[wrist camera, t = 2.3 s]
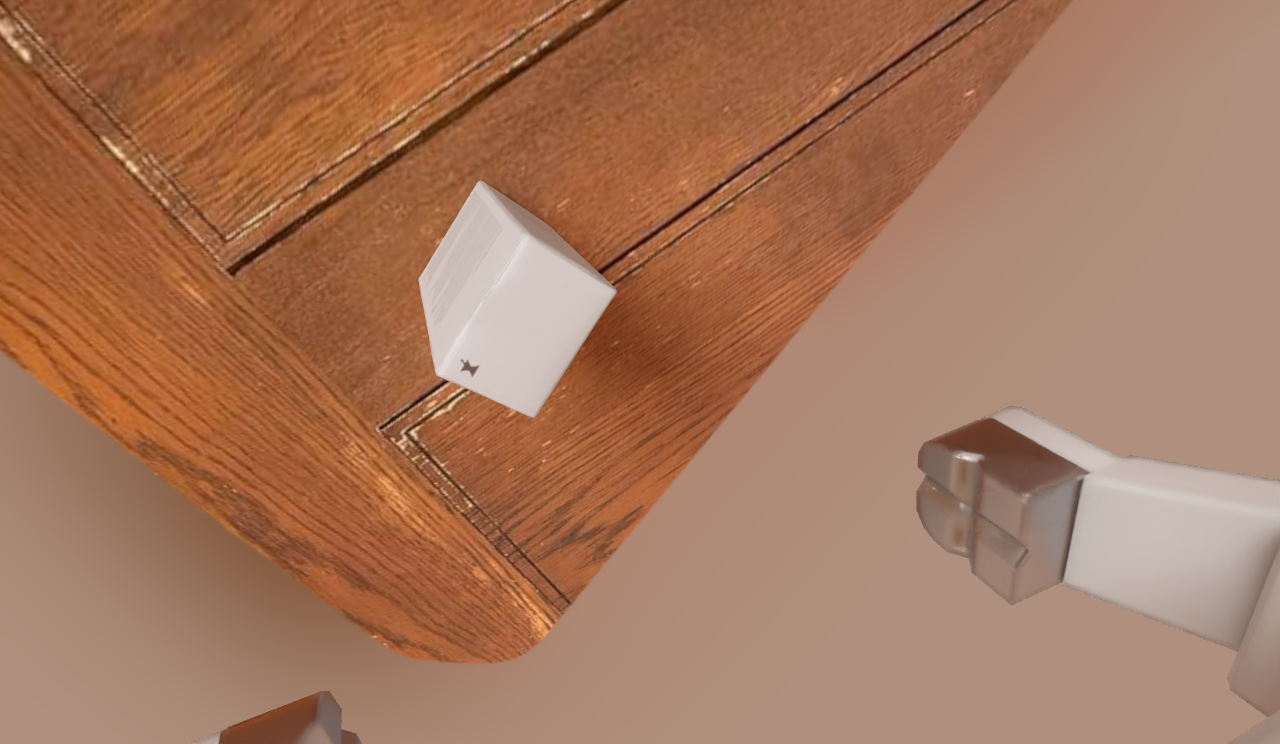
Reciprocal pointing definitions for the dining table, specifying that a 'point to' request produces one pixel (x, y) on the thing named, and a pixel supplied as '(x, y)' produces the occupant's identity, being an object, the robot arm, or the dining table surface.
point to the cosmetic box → (508, 302)
